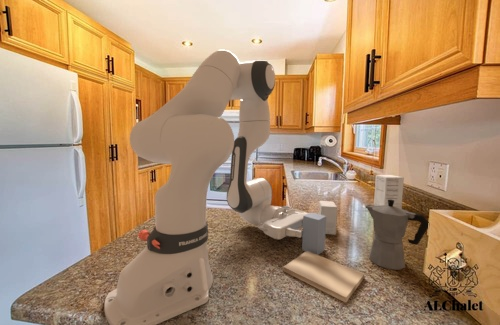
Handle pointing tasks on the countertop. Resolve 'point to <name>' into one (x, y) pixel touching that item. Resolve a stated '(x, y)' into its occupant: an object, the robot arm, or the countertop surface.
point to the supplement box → (388, 190)
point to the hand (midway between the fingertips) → (309, 230)
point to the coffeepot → (392, 234)
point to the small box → (329, 215)
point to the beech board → (325, 275)
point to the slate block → (314, 233)
